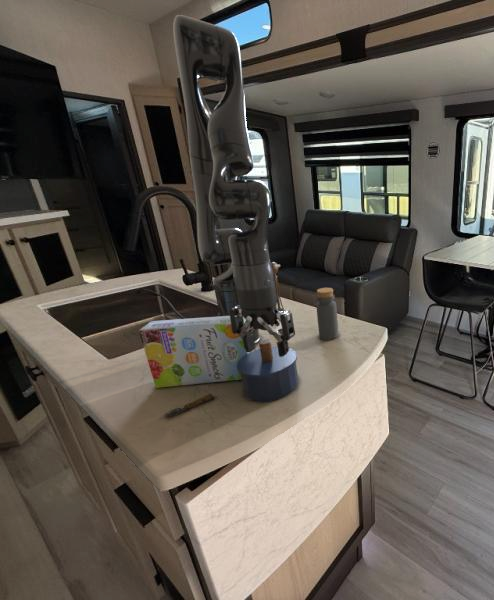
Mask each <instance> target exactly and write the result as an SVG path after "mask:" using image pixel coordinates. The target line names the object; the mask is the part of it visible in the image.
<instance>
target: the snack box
mask: <svg viewBox="0 0 494 600" xmlns="http://www.w3.org/2000/svg"><path fill="white" fill-rule="evenodd" d="M243 320H244V323H245V321H246V319H245V318H244V317H243ZM237 325H238V324H237ZM138 334H139V337H140V340H141V343H142V347H143V350H144V353H145V356H146V360H147V364H148V366H149V369H150V373H151V376H152V379H153V383H154V386H155V388H156V389H158V388H168V387H178V386H189V385H199V384H200V385H201V384H209V383H211V384H212V383H221V382H230V381H239V380H241V381H242V377H241V374H240V373H239V372H238V370H237V363H238V361H239V360H240V359H241V358H242V357H243V356H245V355H246V354H248V353H250V352H246V349H245V348H244V344H243V339H242V337H241V336H240V335H239V334H234V333H233V332H232V326H231V320H230V316H219V317H217V316H206V317H194V318H192V317H191V318H186V319H182V318H179V319H178V318H177V319H163V320H162V319H161V320H151V321H149V322H148V323H147V324H145V325H144V326H143V327H141V328H140V329H138ZM253 351H255V349H254V350H253ZM251 352H252V351H251Z"/></svg>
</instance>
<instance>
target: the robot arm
mask: <svg viewBox="0 0 494 600" xmlns="http://www.w3.org/2000/svg"><path fill="white" fill-rule="evenodd" d="M172 33H173V34H172V35H173V43H174V50H175V55H176V56H175V58H176V63H177V69H178V75H179V81H180V85H181V92H182V98H183V105H184V111H185V112H184V113H185V120H186V131H187V144H188V155H189V156H188V157H189V163H190V171H191V178H192V184H193V190H194V201H195V212H196V213H195V214H196V217H195V218H196V241H197V249H198V253H199V256H200V259H201V261H202V262H203V263H204V264H205V265H206V266H220V265H226V264H230V265H229V267H228V268H226V270H225V271H223V272H222V273H220V274H218V275H216V276H215V277H214V278H213V280H212V286H213V290H214V294H215V299H216V304H217V308H218V313H217V315H216V317H219V316H230V320H231V326H232V332H233V333H234V334H239V335H240V336H241V337H242V339H243V344H244V348H245V349H246V352H251V351H253V350H254V351H255V350H256V344H257V343H259V342H260V341H261V334H260V331H259V330H261V331H267V333H268V334H269V335H270V336H273V338H274V339H275V340H276V341H277V342H276V346H278V353H279V356H280V357H284V356H285V355H286V354H287V352H288V351H289V348H290V347H289V341H290V340H291V339H292V338H293V337H294V336H296V329H295V324H294V319H293V313H292V311H291V309H290V310H289V309H288V310H285V311H286V312H279V311H278V305H277V294H276V287H275V281H274V274H273V269H272V266H271V255H270V249H269V242H268V228H269V220H270V214H271V208H272V207H271V206H272V194H271V192H270V190H269V189H270V188H268V187H267V185H266V184H265V183H264V182H263V181H261V180H258V179H246V180H245V179H237V178H240V177H244V176H246V175H249V174H250V173H252V171H253V169H254V157H253V153H252V148H251V144H250V143H251V142H250V138H249V133H248V128H247V121H246V120H247V119H246V118H247V117H246V101H245V85H244V73H243V63H242V55H241V49H240V44H239V42H238V39H237V37H236V36H235V34H234V32H232V31H231V30H230V29H227V28H225V27H222V26H219V25H218V24H217V25H216V24H212V23H210V22H206V21H203V20H200V19H198V18H195V17H194V18H193V17H191V16H188V15H184V14H183V15H182V14H177V15H175V16H174V18H173V26H172ZM199 78H202V79H206V80H211V81H216V82H219V83H224V84H226V85H225V91H224V92H223V95H222V97H221V98H220V100H219V101H218V103H217V104H216V105H215V106H214V109H213V110H211V109H210V107H209V105H208V103H207V101H206V99H205V97H204V95H203V92H202V89H201V86H200V82H199ZM218 218H219V219H221V220H225V221H232V220H233V221H234V220H252V219H253V223H252V224H251V226H250V227H248V228H247V229H243V230H241V229H239V228H238V227H223V228H222V227H221V228H217V222H218ZM142 291H143V292H148V293H151V294H154V295H156V296H158V297H160V298H162V299H163V300H164V301H165V302H166V303H167V304H168V306H169V307H170V309H171V310H172V311H173V312H174V313H175V314H176V315H177V316H178V317H179V319H187V318H186V317H185V316H183V315H181V313H179V311H177V310H176V308H175V307H174V305H172V303H171V302H170V300H168V298H166V297H165V296H164V295H162V294H161V293H159V292H157V291H153V290H150V289H147V288H139V289H138V290H137V293H140V292H142ZM243 317H244V318H245V319H246V321H245V323H244V320H243ZM278 318H279V320H278ZM237 324H238V325H237ZM274 326H275V328H274Z"/></svg>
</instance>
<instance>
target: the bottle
mask: <svg viewBox="0 0 494 600" xmlns="http://www.w3.org/2000/svg"><path fill="white" fill-rule="evenodd" d="M316 294H317V295H316V300H317V301H318V302H317V303H316V306H315V307H316V316H317V317H316V319H317V328H318V337H319V339H321V340H323V341H331V340H335V339H337V338H338V337H339V322H338V321H339V320H338V308H337V302H336V301H334V300H335V297H336V296H335V294H334V289H333V288H332V287H321V288H318V289H317V290H316Z"/></svg>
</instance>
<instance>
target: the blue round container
mask: <svg viewBox="0 0 494 600" xmlns="http://www.w3.org/2000/svg"><path fill="white" fill-rule="evenodd" d="M297 367H298V366H297V361H296V362H295V363H294V364H293V365H292V366H291V367H290V368H289V369H287V370H285V371H283V372H281V373H278V374H275V375H272V376H267V377H259V378H254V377H247V376H244V375H242V374H241V377H242V379H241V382H242V387H243V392H244V395H245V397H246V398H247V399H248V400H250V401H253V402H258V403H266V402H267V403H268V402H272V401H273V402H274V401H277V400H280V399H282V398H284V397H286V396H288V395H290V394H291V393H292V392H293V391H294V390H295V389H296V388H297V386H298V384H299V374H298V368H297Z"/></svg>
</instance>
